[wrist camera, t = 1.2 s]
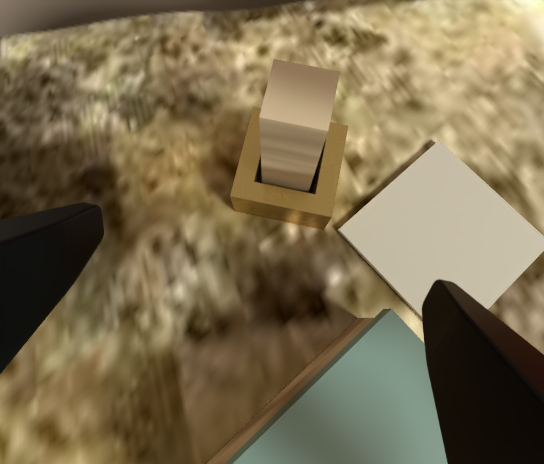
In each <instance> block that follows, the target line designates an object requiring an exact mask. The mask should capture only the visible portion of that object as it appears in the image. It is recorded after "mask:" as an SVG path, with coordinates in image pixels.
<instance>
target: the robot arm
mask: <svg viewBox="0 0 544 464" xmlns="http://www.w3.org/2000/svg"><path fill="white" fill-rule="evenodd" d="M103 236H104V227H103V218H102V210H101V208H100V206H98V205H96V204H92V203H87V202H81V203H77V204H72V205H68V206H63V207H59V208H54V209H50V210H45V211H41V212H36V213H32V214H27V215H23V216H18V217H14V218H9V219H5V220H0V374H1V373H2V372H3V370H4V369H5V368H6V367H7V365H8V364H9V363H10V362H11V360H12V359H13V358H14V357H15V356H16V354H17V353H18V352H19V351H20V349H21V348H22V347H23V346H24V344H25V343H26V342H27V341H28V339H29V338H30V337H31V336H32V335H33V333H34V332H35V331H36V330H37V328H38V327H39V326H40V325H41V323H42V322H43V321H44V320H45V319H46V317H47V316H48V315H49V314H50V312H51V311H52V310H53V309H54V307H55V306H56V305H57V304H58V303H59V301H60V300H61V299H62V298H63V296H64V295H65V294H66V293H67V291H68V290H69V289H70V288H71V286H72V285H73V284H74V282H75V281H76V279H77V278H78V277H79V275H80V273H81V272H82V270H83V269H84V267H85V266H86V264H87V263H88V261H89V259H90V258H91V256H92V255H93V253H94V252H95V250H96V249H97V247H98V245H99V244H100V242H101V241H102V239H103ZM422 321H423V332H424V343H425V355H426V363H427V368H428V374H429V378H430V383H431V388H432V392H433V397H434V402H435V407H436V411H437V416H438V421H439V426H440V430H441V435H442V440H443V444H444V449H445V454H446V459H447V463H448V464H544V355H543V354H542V353H541V352H540V351H538V350H537V349H536V348H535V347H533V346H532V345H531V344H530V343H528V342H527V341H526V340H525V339H524V338H522V337H521V336H520V335H519V334H517V333H516V332H515V331H514V330H512V329H511V328H510V327H509V326H507V325H506V324H505V323H504V322H502V321H501V320H500V319H499V318H498V317H496V316H495V315H494V314H493V313H491V312H490V311H489V310H488V309H486V308H485V307H484V306H483V305H481V304H480V303H479V302H478V301H476V300H475V299H474V298H473V297H472V296H470V295H469V294H468V293H467V292H465V291H464V290H463V289H462V288H460V287H459V286H458V285H457V284H455V283H454V282H451V281H446V280H442V279H438V280H436V281H435V282H434V283H433V284H432V286H431V288H430V290H429V292H428V294H427V296H426V298H425V300H424V302H423V304H422Z"/></svg>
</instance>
